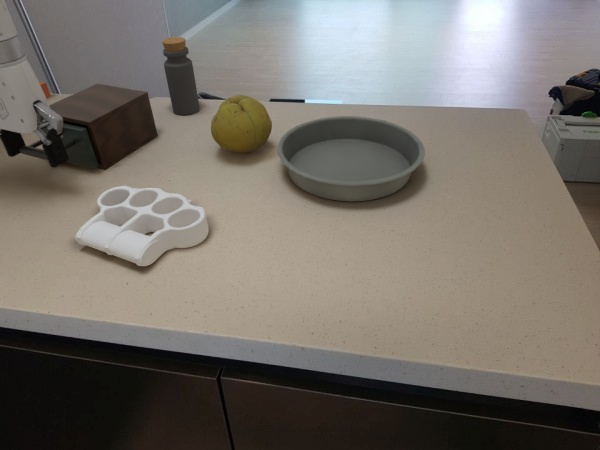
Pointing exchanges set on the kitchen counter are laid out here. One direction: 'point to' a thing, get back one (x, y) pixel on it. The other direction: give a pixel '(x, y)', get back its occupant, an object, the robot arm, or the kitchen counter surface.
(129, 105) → the cabinet
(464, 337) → the kitchen counter surface
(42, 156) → the drawer
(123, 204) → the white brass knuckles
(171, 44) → the bottle
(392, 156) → the cake pan
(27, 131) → the robot arm
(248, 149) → the fruit
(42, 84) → the block
